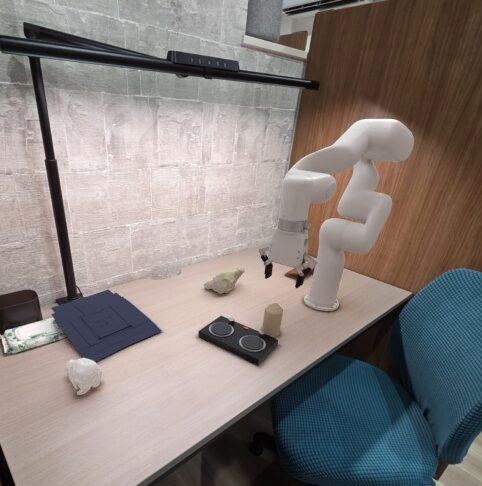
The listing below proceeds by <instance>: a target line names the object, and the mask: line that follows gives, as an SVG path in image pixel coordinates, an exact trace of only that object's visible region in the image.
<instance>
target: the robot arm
mask: <svg viewBox="0 0 482 486" xmlns="http://www.w3.org/2000/svg"><path fill="white" fill-rule="evenodd" d="M414 145H415V138H414V134H413V133H412V131H411V130H410V129H409V128H408V127H407V126H406V125H405V124H404V123H403V122H401V121H400V120H397V119H394V118H393V119H392V118H363V119H360V120H357V121H355V122H354V123H353V124H352V125H350V126H349V128H348V129H346V131H345V132H344V133H343V134H342V135H341V136H340V137H338V139H337V140H336V141H335V142H334V143H333V144H332V145H329V146H326V147H323V148H321V149H319V150H316V151H314V152H312V153H309V154H306V155H305V156H303V157H302V158H300V159H299V160H298V161H297V162H296V163H295V164H294V165H292V167H291V168H289V170H288V171H287V173H286V174H285V176H284V178H283V180H282V184H281V193H280V199H279V200H280V201H279V206H278V207H279V208H278V217H277V223H276V226H275V227H274V229H273V231H272V234H271V239H270V242H269V245H266V246H262V247H260V248H259V249H258V252H259V256H260V259H261V261H262V262H263V266H264V279H265V280H267V279H269V278H271V277H272V275H273V269H274V264H278V265H281V266H286V267H289V268H292V269H294V268H296V270H297V271H298V273H299V275H297V279H296V280H295V285H294V288H295V289H299V288H300V287H301V286H303V285H304V283H305V278H306V277H305V274H307V273H309V272H310V271H311V270H312V269H313V268H314V267H315V269H314V272H313V275H312V278H311V284H310V288H309V293H307V294H305V295H304V296H303V302H304V304H305V305H306V306H307V307H309V308H311V309H314V310H317V311H320V312H321V311H322V312H333V311H335V310H337V309H338V308H339V306H340V303H339V301H338V299H337V297H338V292H339V288H340V284H341V281H342V277H343V273H344V269H345V266H346V255H345V252H348V253H350V254H351V253H352V254H355V255H359V256H364V255H367V254H368V253H369V252H371V250H372V249H373V248H374V245H375V243H376V242H377V240H378V238H379V236H380V234H381V232H382V231H383V229H384V227H385V224H386V222H387V221H388V219H389V216H390V215H391V211H392V208H393V199H392V197H391V196H390V195H389V194H387V193H383V192H378V191H375V190H377V189H376V188H377V186H378V184H379V183H380V173H379V171H378V169H377V166H376V165H375V162H374V161H376V162H384V163H402V162H404V161H405V160H407V159H408V158H409V157H410V155H411V154H412V152H413V149H414ZM352 168H353V169H352ZM351 169H352V175H351V177H350V179H349V182H348V184H347V186H346V187H345V189H344V192H343V193H342V194H341V195H342V196H341V198H340V200H339V201H338V203H337V209H336V210H337V211H336V212H337V214H338V215H339V216H341V217H343V218H346V219H343V218H339V217H332V218H331V217H330V218H327V219H326V220H325V221H323V223H322V224H321V225H320V227H319V232H318V250H317V255H316V259H314V258H313V257H311V255H310V254H309V253H308V252H309V231H308V230H311V228H312V223H309V221H308V220H309V219H308V217H309V212H310V205H311V204H314V205H315V204H324V203H325V204H326V203H327V202H328V201H330V200H331V199H333V198H334V196H335V194H336V192H337V188H338V186H337V185H338V182H337V179H336V178H335V177H334V176H333V175H335V174H340V173H344V172H348V171H349V170H351ZM348 219H349V220H348ZM352 220H353V221H352ZM356 221H357V222H356ZM361 222H363V223H361ZM266 252H268V253H266ZM273 263H274V264H273ZM306 263H309V264H310V265H309V267H308V268H305V266H304V264H306Z"/></svg>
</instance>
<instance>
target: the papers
mask: <svg viewBox="0 0 482 486" xmlns="http://www.w3.org/2000/svg"><path fill="white" fill-rule="evenodd" d="M50 309H51V310H52V311H53V313H51V314H50V315H51V316H52V317H53V321H54V322H55V323H56V325H57V326H58V328H59V329H60V330H61V332H63V334H64V335H65V336H66V337H67V338H68V340H69V341H70V343H72V345H73V346H74V348H76V350H77V351H78V352H79V353H80V355H81V356H82V358H87V359H90V360H93V361H94V362H96V363H97V362H98V361H100V360H102V359H105V358H106V357H108V356H110V355H112V354H114V353H116V352H119V351H120V350H122V349H124V348H126V347H128V346H130V345H133V344H136V343H137V342H140V341H143V340H144V339H147V338H149V337H152V336H154V335H156V334H159V333H161V332H163V330H162V329H161V328H160V327H159V326H158V325H157V324H156V323H155V322H154V321H153V320H152V319H151V318H150V317H149V316H147V314H145V313H144V312H143V311H142V310H141V309H139V308H138V307H137V306H135V305H134V304H133V303H132V302H131V301H130V300H128V299H127V298H125V297H124V296H121V295H120V293H117V292H112V291H111V290H110V289H109V288H108V289H106V290H102V291H99V292H97V293H94V294H91V295H87V296H84V297H81V298H78V299H75V300H72V301H69V302H65V303H62V304H59V305H56V306H52V307H50Z"/></svg>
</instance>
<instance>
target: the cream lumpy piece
mask: <svg viewBox="0 0 482 486" xmlns="http://www.w3.org/2000/svg"><path fill="white" fill-rule="evenodd" d="M245 272H246V270H245V268H236V270H233V271H229V272H222V273H219V274H216V275H215V276H214V277H212V279H210V280H209V281H207V282H205V283H203V288H204V289H206V290H212V291H214V292H216V293H218V294H219V295H222V294H228V293H229V292H231V291H233V289H234V288H235V286H236V284H237V282H238V281H239V279H240V278H241V277H242V275H243V274H244V273H245Z"/></svg>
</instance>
